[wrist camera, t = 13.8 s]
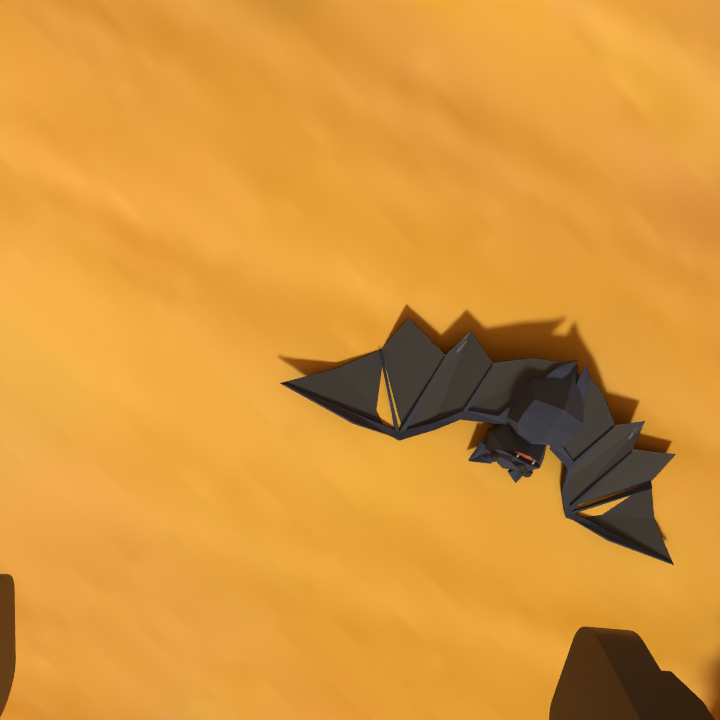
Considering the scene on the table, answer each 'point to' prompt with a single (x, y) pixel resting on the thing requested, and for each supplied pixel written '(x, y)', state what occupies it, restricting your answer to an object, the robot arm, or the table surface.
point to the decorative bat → (508, 422)
